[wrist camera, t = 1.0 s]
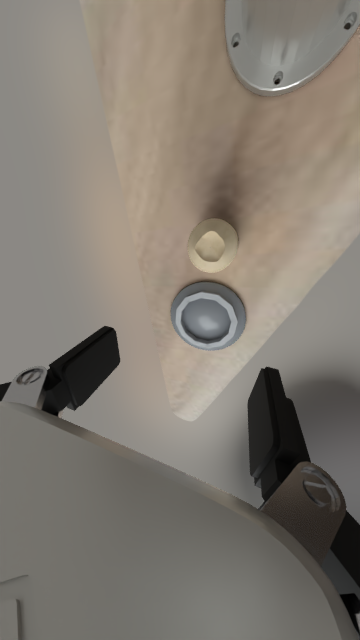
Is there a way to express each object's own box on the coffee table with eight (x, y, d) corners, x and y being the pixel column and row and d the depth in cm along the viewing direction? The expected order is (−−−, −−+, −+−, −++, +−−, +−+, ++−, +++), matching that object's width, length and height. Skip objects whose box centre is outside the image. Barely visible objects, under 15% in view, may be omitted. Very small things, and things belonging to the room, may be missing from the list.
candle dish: (174, 275, 30) (170, 278, 29) (255, 289, 27) (256, 292, 25) (169, 339, 37) (166, 344, 35) (235, 356, 34) (234, 362, 32)
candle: (199, 259, 28) (181, 271, 19) (204, 221, 25) (186, 214, 17) (233, 264, 26) (230, 279, 18) (242, 225, 24) (244, 219, 15)
